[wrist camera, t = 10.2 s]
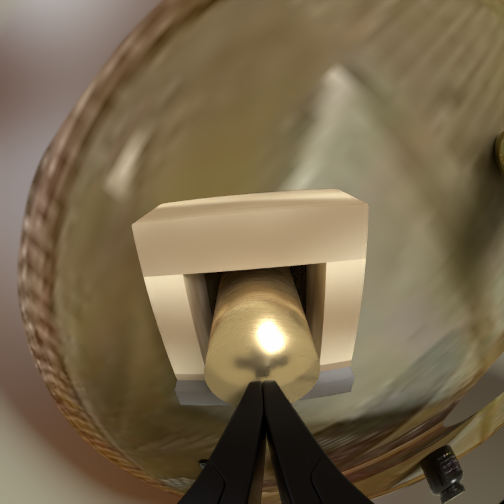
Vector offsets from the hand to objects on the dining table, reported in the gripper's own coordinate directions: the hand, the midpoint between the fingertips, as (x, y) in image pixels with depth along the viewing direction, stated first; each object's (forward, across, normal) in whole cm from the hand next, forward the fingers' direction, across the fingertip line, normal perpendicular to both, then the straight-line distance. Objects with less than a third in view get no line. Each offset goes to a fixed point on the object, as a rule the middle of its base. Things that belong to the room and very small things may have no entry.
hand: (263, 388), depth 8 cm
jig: (+7, 0, 0) cm, 7 cm away
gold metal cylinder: (+8, 0, 0) cm, 8 cm away
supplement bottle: (+8, -31, +42) cm, 53 cm away
